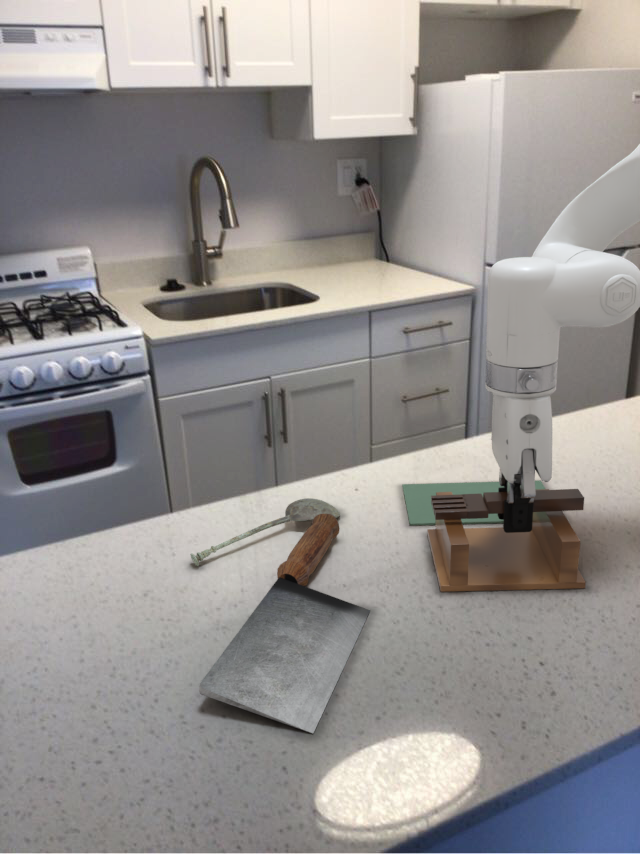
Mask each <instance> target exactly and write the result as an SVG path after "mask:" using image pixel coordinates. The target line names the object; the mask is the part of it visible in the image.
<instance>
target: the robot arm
mask: <svg viewBox="0 0 640 854" xmlns="http://www.w3.org/2000/svg"><path fill="white" fill-rule="evenodd" d="M638 223H640V143H639V144H638V145H637V147H635V149H633V151H631V152H630V153H629V154H628V155H627V156H625V157H624V158H623V159H621V160H620V161H618V162H617V163H616V164H614V165H613V166H612V167H610V168H609V169H608V170H607V171H606V172H604V173H603V174H602V175H600V176H599V177H598V178H597V179H596V180H595V181H594V182H592V183H591V184H589V185H588V186H587V187H586V188H584V189H583V190H582V191H581V192H580V193H579V194H577V196H575V197H574V198H573V199H572V200H571V201H570V202H569V203H568V204H567V205H566V206H565V207H564V208H563V210H562V211H561V212H560V213H559V215H557V217H556V218H555V220H554V222H553V223H552V224H551V226H550V227H549V228H548V230H547V232H546V233H545V234H544V235H543V237H542V239H541V240H540V242H539V243H538V245H537V246H536V248H535V250H534V251H533V254H532V255H531V256H518V257H510V258H509V257H508V258H503V259H501V260H498V261H496V262H495V263H494V264H493V265H492V266H491V267H490V269H489V272H488V276H487V305H486V306H487V307H486V309H487V311H486V342H485V345H486V346H485V347H486V348H485V383H484V388H485V389H486V391H488V392H489V393H490V394H492V397H493V398H492V409H491V411H492V412H491V450H492V454H493V458H494V459H495V462H496V464H497V465H498V468H499V472H498V482H499V484H500V486H504V487H501V488H499V489H498V492H507V500H504V513H499V514H498V517H499V519H501V520H503V523H502V524H503V525H502V527H503V529H504V531H505V532H506V533H516V532H530V531H531V530H532V522H533V504H534V498H535V496H536V491H535V481H536V474H537V475H538V477H539V479H540V480H541V482H545V483H549V482H551V480H552V478H553V410H552V399H551V395H552V394H553V393H555V392H556V390H557V384H558V383H557V381H558V367H559V366H558V365H559V349H560V338H561V337H560V335H561V334H560V333H561V328H564V327H578V328H579V327H580V328H582V327H583V328H607V327H612V326H615V325H619V324H621V323H623V322H625V321H627V320H628V319H629V318H631V317H632V316H633V315H634V314H635V313H637V311H638V310H639V308H640V269H639V267H638V266H637V265H636V264H635V263H633V262H632V261H631V260H629V259H627V258H626V257H623V256H621V255H618V254H613V253H609V252H604V251H605V250H606V249H607V247H608V246H609V245H610V244H612V242H613V241H615V239H617V238H618V237H619V236H620V235H621V234H622V233H624V232H625V231H627V230H628V229H630V228H632V227H633V226H635V225H636V224H638ZM520 486H521V487H520Z"/></svg>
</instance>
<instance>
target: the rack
mask: <svg viewBox="0 0 640 854" xmlns="http://www.w3.org/2000/svg"><path fill="white" fill-rule="evenodd" d="M536 490H550V489H549V488H545V489H536ZM436 495H453V494H452V492H436ZM434 526H435V528H428V529H427V532H426V533H427V538H428V543H429V547H430V551H431V552H430V553H431V555H432V560H433V565H434V568H435V574H436V577H437V582H438V586H439V590H440V592H443V593H444V592H482V591H483V592H486V591H488V592H489V591H525V590H526V591H527V590H529V591H531V590H567V589H571V590H572V589H574V590H575V589H586V582H587V581H586V580H585V579H584V577H583V575H582V573H581V571H580V569H579V562H580V552H581V543H582V542H581V539H580V538H579V537H578V535H577V533H576V531H575V529H574V528H573V527H572V525H571V523H570V521H569V519H568V518H567V516H566V515H565V513H564V511H549V512H533V522H532V530H531V531H530V532H516V533H506V532H505V531H504V529H503V526H500V527H499V526H498V527H464V524H462V521H461V519H446V520H436V522H435V525H434Z"/></svg>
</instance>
